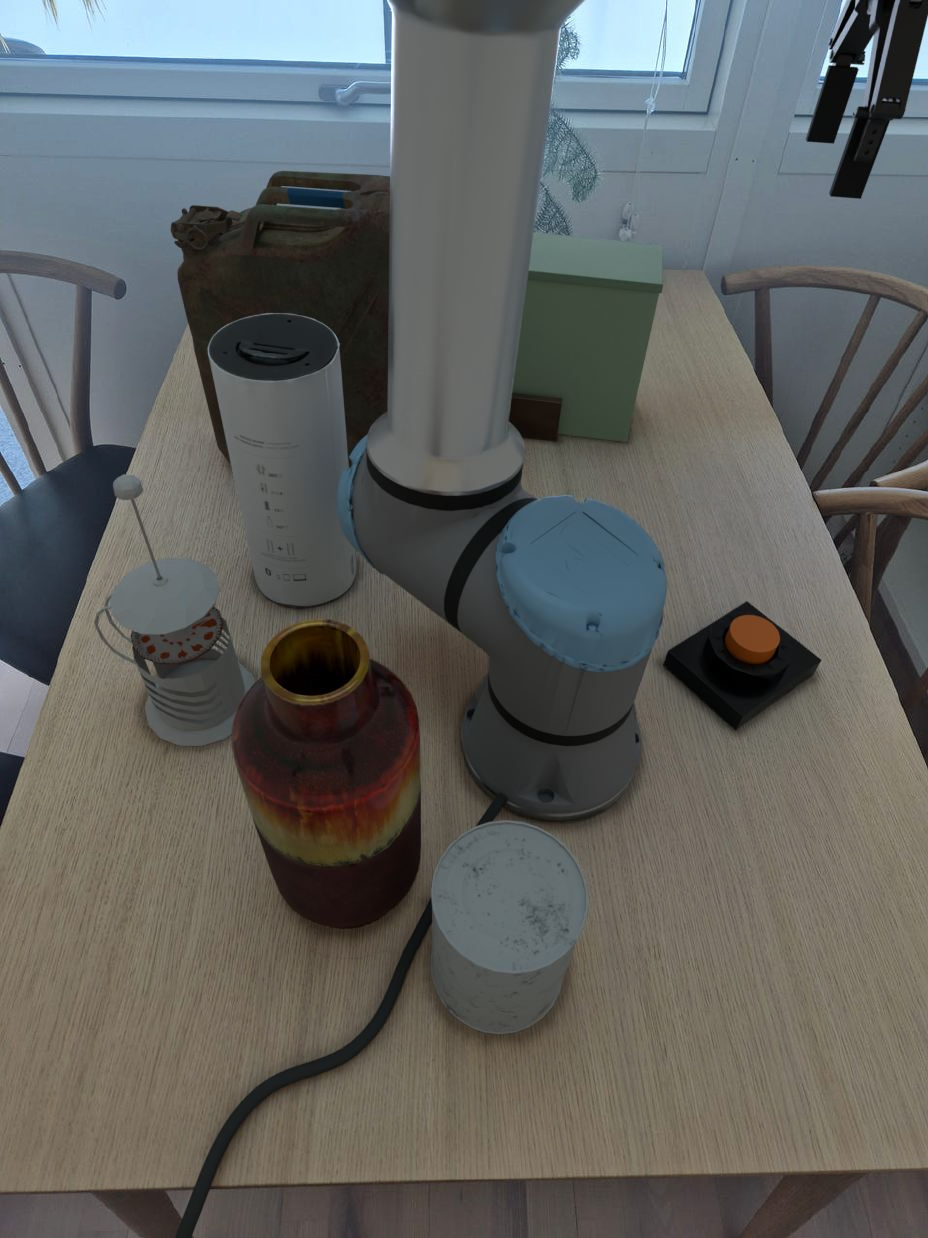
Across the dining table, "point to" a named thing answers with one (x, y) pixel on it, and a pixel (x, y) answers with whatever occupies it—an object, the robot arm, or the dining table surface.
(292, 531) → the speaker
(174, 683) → the french press
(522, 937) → the pale grey cylinder
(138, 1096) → the dining table surface
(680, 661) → the button block
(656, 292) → the storage box
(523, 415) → the rack
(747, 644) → the button
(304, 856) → the vase
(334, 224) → the container
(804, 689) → the dining table surface
